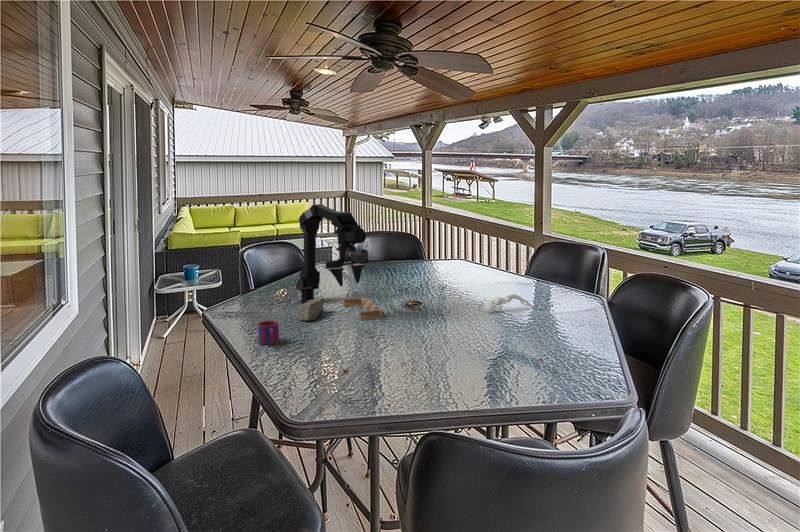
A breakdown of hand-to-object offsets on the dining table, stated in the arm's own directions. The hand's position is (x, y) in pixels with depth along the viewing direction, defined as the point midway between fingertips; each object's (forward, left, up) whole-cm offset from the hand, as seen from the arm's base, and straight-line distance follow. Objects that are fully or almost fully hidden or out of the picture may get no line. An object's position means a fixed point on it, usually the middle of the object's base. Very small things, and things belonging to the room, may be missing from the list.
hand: (349, 284), depth 201 cm
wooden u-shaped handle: (-9, +8, -14) cm, 18 cm away
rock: (-9, -14, -15) cm, 22 cm away
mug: (+18, -34, -14) cm, 41 cm away
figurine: (+10, +69, -15) cm, 71 cm away
